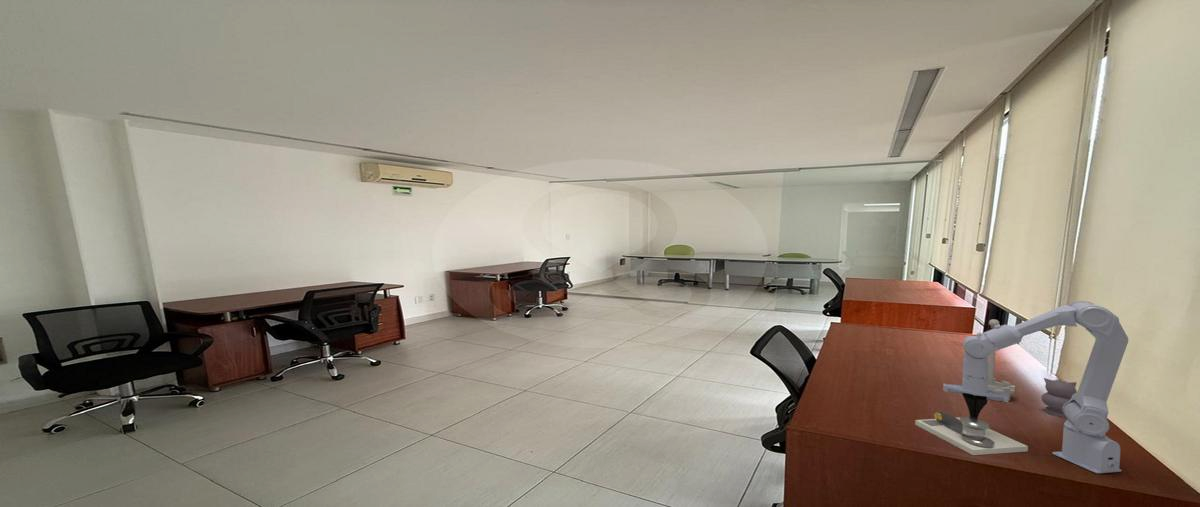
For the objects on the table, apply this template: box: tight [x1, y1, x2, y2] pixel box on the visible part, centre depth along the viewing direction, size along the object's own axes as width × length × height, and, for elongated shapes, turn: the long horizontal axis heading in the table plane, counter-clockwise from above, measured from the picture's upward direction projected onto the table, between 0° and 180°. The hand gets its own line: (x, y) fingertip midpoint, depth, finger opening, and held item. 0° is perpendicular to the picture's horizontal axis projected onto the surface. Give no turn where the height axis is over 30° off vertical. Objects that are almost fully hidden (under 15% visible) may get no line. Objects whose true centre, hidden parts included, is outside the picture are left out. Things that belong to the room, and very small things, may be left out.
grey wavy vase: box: [1040, 377, 1078, 419], centre depth 136 cm, size 8×8×12 cm
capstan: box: [934, 410, 994, 447], centre depth 120 cm, size 17×7×5 cm, turn 5°
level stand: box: [914, 417, 1029, 456], centre depth 121 cm, size 18×18×2 cm
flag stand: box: [987, 318, 1016, 402], centre depth 152 cm, size 13×13×30 cm
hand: (973, 418), depth 122 cm, fingers closed
